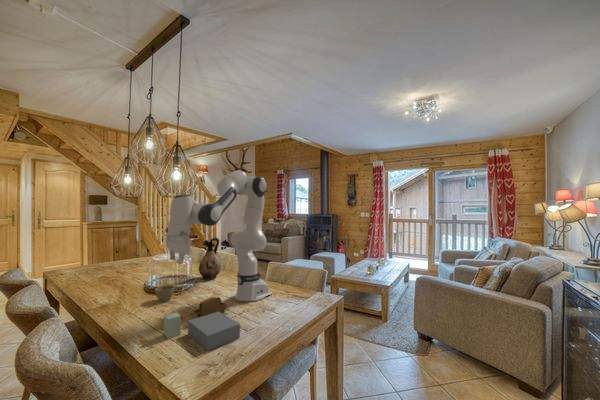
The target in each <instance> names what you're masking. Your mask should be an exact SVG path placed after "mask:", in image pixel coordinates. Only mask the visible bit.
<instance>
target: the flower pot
mask: <svg viewBox="0 0 600 400" xmlns="http://www.w3.org/2000/svg"><path fill="white" fill-rule="evenodd" d="M175 289H176V288H175V285H173V284H172V285H169V284H167V285H162V286H158V287H156V288H154V293H155V295H156V298H157V299H158V300H159V302H161V303H166V302H169V301H170V300H171V299H172V297H173V295H174V292H175Z"/></svg>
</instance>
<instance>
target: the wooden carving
mask: <svg viewBox="0 0 600 400" xmlns="http://www.w3.org/2000/svg"><path fill="white" fill-rule="evenodd" d="M227 307H228V304H227V303H225V302H222V299H221V297H219V296H218V297H214V296H213V297H209V298H206V299H204V300H203V301H200V303H199V309H197V310H196V309H195V310H194V311H193V313H194V314H195V315H196V318H199V317H202V316H205V315H209V314H212V313H215V312H220V313H222V314H225V312H226V309H227Z"/></svg>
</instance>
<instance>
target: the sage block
mask: <svg viewBox="0 0 600 400" xmlns="http://www.w3.org/2000/svg"><path fill="white" fill-rule="evenodd" d="M163 316H164V317H163V336H164V337H165V338H166V339H168V340H170V339H171V338H175V337H178V336H181V333H182V331H181V330H182V323H181V322H182V316H181V314H180V313H178V312H173V313H172V312H171V313H169V314H166V315H163Z"/></svg>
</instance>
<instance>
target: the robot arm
mask: <svg viewBox="0 0 600 400" xmlns="http://www.w3.org/2000/svg"><path fill="white" fill-rule="evenodd" d="M216 189H217V193H218V194H219V195H220V196H219V197H218V198H217V199H216V200H215V201H214V202H211V203H202V202H201V203H199V202H198V201H197V200H195V199H194V198H193V197H192V196H191V195H189V194H177V195H174V196H173V198H172V199H171V202H170V203H171V204H170V209H169V218H170V219H169V221H168V226H167V227H165V229H164V230H165V233H166V234H165V248H166V249H167V250H169V260H171V261H174V260H176V254H178V258H177V264H178V265H182V264H183V263H184V259H185V255H190V253H191V237H190V233H191V223H192V224H197V225H204V226H208V227H211V226H212V227H213V226H214V225H216V224H218V222H219V221H220V220H221V218H222V215H223V214H224V213H225V212H226V210H227V209H228V208H229V207H230V206H231V204H233V202H234V201H235V200H236V198H237V197H238V196H237V195H242V196H247V200H246V204H245V208H244V212H243V216H242V217H243V218H242V220H243V223H244V224H245V227H246V230H237V231H235V232H233V233H232V234H231V236H230V244H231V245H232V247H233V248H234V250H235V253H236V256H237V261H238V262H237V264H238V265H237V266H238V267H237V268H238V270H237V271H238V272H237V276H236V277H237V279H236V281H237V288H236V293H235V296H234V298H235V300H237V301H240V302H258V300H259V301H261V300H263V299H265V298H264V297H266V296H268V295H270V296H272V295H273V292H272V290H270V287H269V285H268V283H267V282H265V281H264V280H262V279H261V278H260V277H263V276H264V274H263V273H261V272H258V258H257V257H256V256H255V255H254V253H253V252H260V251H263V250H264V249H265V248H266V245H267V242H268V240H267V237H266V236H265V234H264V232H263V228H262V225H263V224H262V222H263V217H264V216H263V214H264V210H265V194H266V193H267V189H268V182H267V181H266V179H265V178H264V177H263V176H262V177H261V176H251V175H250V176H247V174H246V173H245V172H244V171H243V170H241V169H238V170H234V171H232V172H230V173H229V174H227V175H225V176H224V177H223V178H222V179H220V180H219V182H218V183H217V186H216ZM271 294H272V295H271ZM268 297H269V296H268ZM262 298H263V299H262ZM266 298H267V297H266ZM260 299H261V300H260Z"/></svg>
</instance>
